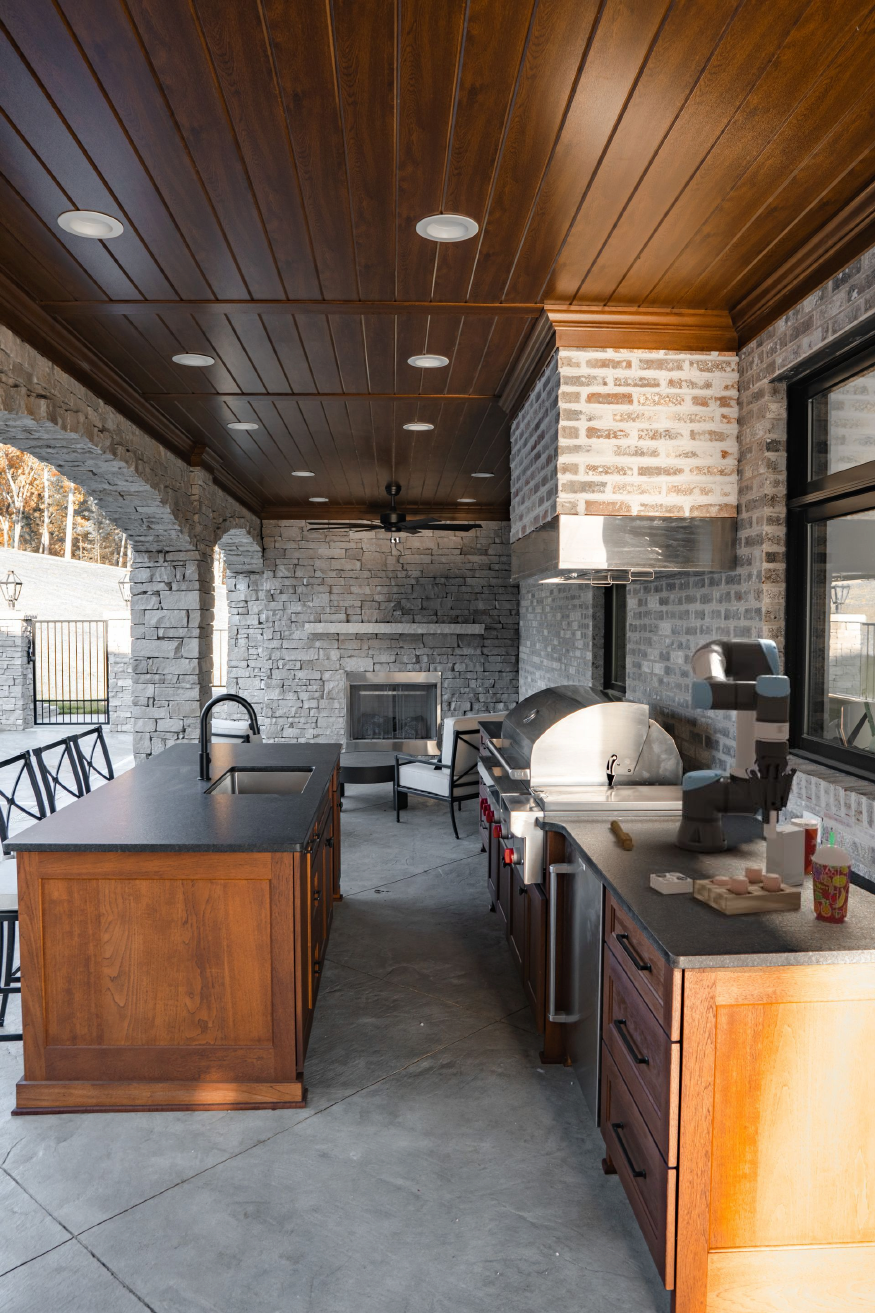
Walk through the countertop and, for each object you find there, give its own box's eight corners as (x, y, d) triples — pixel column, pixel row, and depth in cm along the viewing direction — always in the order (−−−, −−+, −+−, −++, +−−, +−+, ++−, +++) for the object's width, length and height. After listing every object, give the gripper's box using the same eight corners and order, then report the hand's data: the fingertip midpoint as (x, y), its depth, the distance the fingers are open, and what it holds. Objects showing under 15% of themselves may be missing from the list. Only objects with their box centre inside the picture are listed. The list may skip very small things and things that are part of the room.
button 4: (759, 888, 199) (759, 873, 198) (773, 887, 200) (773, 872, 200) (769, 893, 195) (770, 878, 195) (784, 892, 196) (784, 877, 196)
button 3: (741, 880, 205) (741, 865, 205) (755, 879, 206) (755, 864, 206) (751, 885, 201) (751, 870, 201) (765, 884, 203) (765, 869, 202)
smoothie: (803, 913, 192) (804, 828, 191) (837, 912, 192) (838, 828, 192) (822, 926, 183) (824, 837, 183) (858, 925, 184) (860, 837, 184)
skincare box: (786, 878, 220) (787, 823, 219) (805, 884, 214) (806, 828, 214) (764, 882, 216) (765, 826, 216) (782, 888, 211) (783, 831, 210)
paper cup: (821, 875, 223) (822, 824, 222) (791, 873, 224) (792, 823, 224) (814, 867, 230) (815, 818, 230) (785, 866, 232) (786, 817, 231)
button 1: (709, 891, 203) (710, 876, 203) (724, 889, 204) (724, 875, 204) (719, 896, 199) (719, 880, 199) (733, 894, 200) (734, 879, 200)
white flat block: (650, 886, 212) (650, 873, 212) (677, 884, 214) (677, 871, 214) (664, 894, 205) (664, 881, 205) (692, 892, 207) (692, 879, 207)
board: (694, 896, 204) (694, 880, 204) (763, 890, 209) (763, 875, 209) (727, 914, 190) (727, 897, 190) (800, 908, 195) (801, 891, 195)
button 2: (726, 891, 196) (727, 876, 196) (741, 890, 197) (741, 874, 197) (737, 896, 192) (737, 880, 192) (751, 895, 193) (752, 879, 193)
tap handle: (619, 820, 276) (634, 842, 247) (618, 829, 277) (634, 852, 247) (609, 819, 277) (624, 841, 247) (609, 828, 277) (624, 851, 247)
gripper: (757, 742, 191) (756, 842, 192) (805, 740, 194) (803, 839, 195) (738, 738, 199) (736, 834, 199) (784, 737, 202) (783, 832, 202)
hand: (769, 837), depth 197 cm, fingers closed
